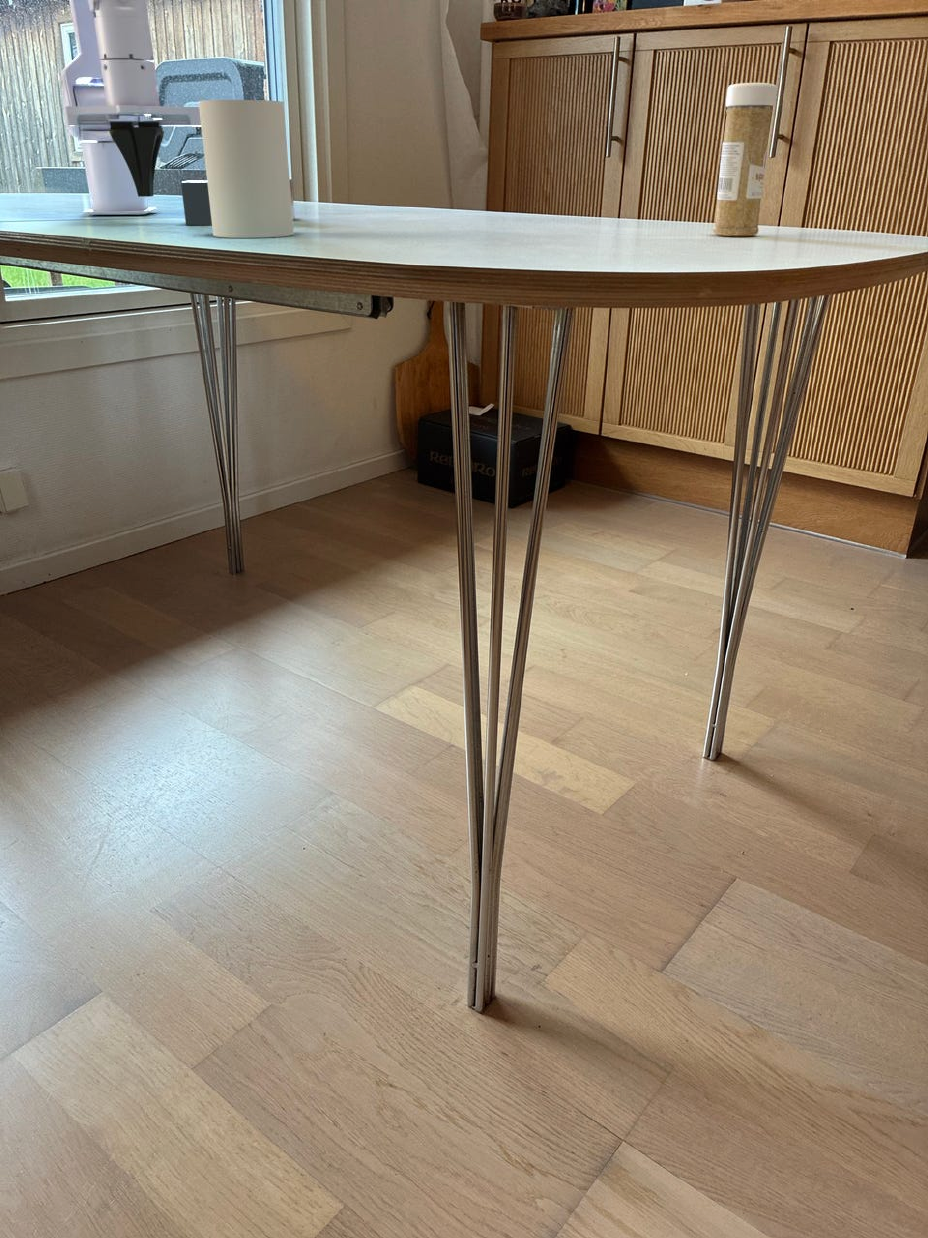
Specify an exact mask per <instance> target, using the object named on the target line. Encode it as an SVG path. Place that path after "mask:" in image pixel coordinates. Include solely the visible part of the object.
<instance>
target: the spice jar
mask: <svg viewBox="0 0 928 1238" xmlns="http://www.w3.org/2000/svg"><path fill="white" fill-rule="evenodd" d="M776 95H777V85H776V84H774V83H769V82H740V83H734V84H730V85H728V87H727V91H726V99H725V107H726V109H725V112H726V116H725V125H724V134H723V142H722V146H721V147H722V148H721V155H720V156H721V157H720V165H719V177H718V186H717V194H716V195H717V196H716V199H717V203H716V214H715V224H714V227H713V229H712V232H713V234H714V235H716V236H723V237H752V236H755V235H758V233H759V230H760V229H759V218H760V211H761V201H762V199H763V192H764V191H763V190H764V183H765V182H764V181H765V172H766V166H767V165H766V163H767V156H768V143H769V137H770V135H769V134H770V126H771V120H772V119H771V118H772V112H773V111H774V108H773V107H774V106H775V105H776Z"/></svg>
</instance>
